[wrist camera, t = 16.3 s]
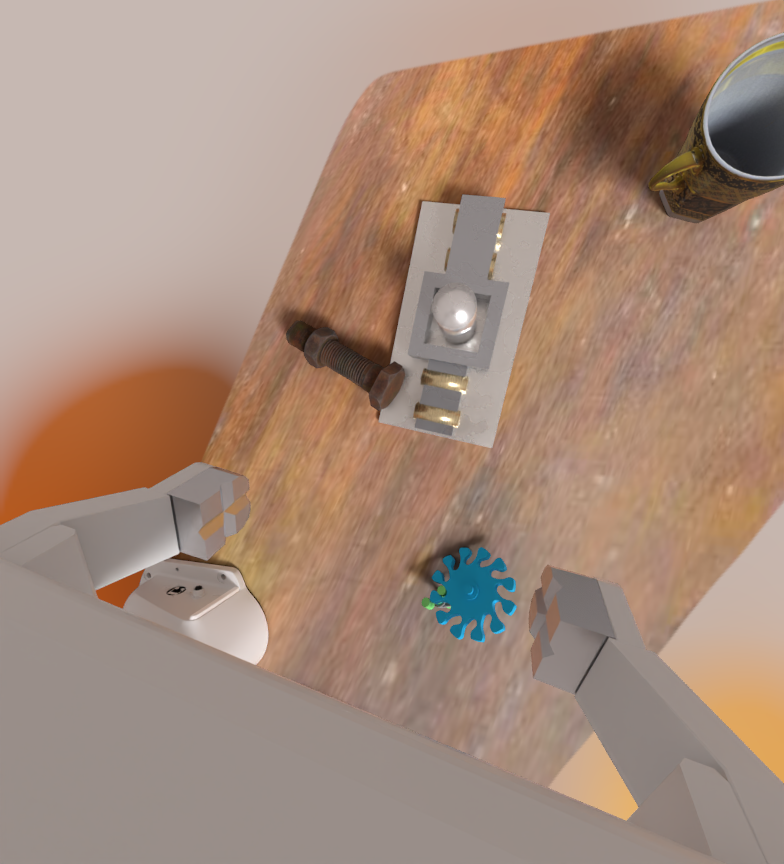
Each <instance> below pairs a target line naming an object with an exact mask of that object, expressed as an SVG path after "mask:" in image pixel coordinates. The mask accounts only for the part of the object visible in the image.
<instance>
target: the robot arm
mask: <svg viewBox="0 0 784 864" xmlns="http://www.w3.org/2000/svg"><path fill="white" fill-rule="evenodd" d="M248 490H249V480H248V478H246V477H245V476H244V475H240V474H237V473H234V472H231V471H228V470H225V469H222V468H219V467H214V466H212V465H208V464H205V463H202V462H200V463H194V464H192V465H190V466H189V467H187V468H185V469H184V470H181V471H180V472H178V473H176V474H174V475H173V476H171V477H169V478H167V479H166V480H164V481H162V482H160V483H158V484H157V485H155V486H154V487H151V488H150V489H147V488H139V489H134V490H130V491H125V492H120V493H115V494H110V495H106V496H101V497H96V498H91V499H86V500H82V501H77V502H72V503H67V504H62V505H57V506H52V507H48V508H43V509H38V510H33V511H30V512H27V513H25V514H23V515H21V516H19V517H17V518H15V519H13V520H11V521H8V522H6V523H4V524H2V525H0V864H784V783H783V782H782V781H781V780H780V779H779V778H778V777H777V776H776V775H775V774H774V773H773V772H772V771H771V770H770V769H769V768H768V767H767V766H766V765H765V764H764V763H763V762H762V761H761V760H760V759H759V758H758V757H757V756H756V755H755V754H754V753H753V752H752V751H751V750H750V749H749V748H748V747H747V746H746V745H745V744H744V743H743V742H742V741H741V740H740V739H739V738H738V737H737V736H736V735H735V734H734V733H733V731H732V730H731V729H730V728H729V727H728V726H727V725H726V724H725V723H724V722H723V721H722V720H720V718H719V717H718V716H717V715H716V714H715V713H714V712H713V711H712V710H711V709H710V708H709V707H708V706H707V705H706V704H705V703H704V702H703V701H702V700H701V699H700V698H699V697H698V696H697V695H696V694H695V693H694V692H693V691H692V690H691V689H690V688H689V687H688V686H687V685H686V684H685V683H684V682H683V681H682V680H681V679H680V678H679V677H678V676H677V675H676V674H675V673H674V671H673V670H671V668H670V667H669V666H668V665H667V664H666V663H665V662H663V660H662V659H661V658H660V657H659V656H658V655H657V654H656V653H655V652H652V651H649V650H647V649H646V647H645V644H644V642H643V639H642V637H641V634H640V632H639V629H638V627H637V624H636V622H635V620H634V617H633V615H632V612H631V610H630V607H629V605H628V602H627V600H626V597H625V595H624V592H623V590H622V588H621V587H620V586H619V585H618V584H617V583H613V582H609V581H606V580H602V579H598V578H595V577H594V578H592V577H589V576H585V575H582V574H578V573H575V572H571V571H568V570H564V569H561V568H557V567H554V566H550V565H547V566H546V567H545V569H544V571H543V573H542V575H541V582H542V587H541V588H539V589H537V590H535V592H534V595H533V598H532V601H531V606H530V611H529V632H530V633H531V635H532V636H533V637H534V639H535V641H534V643H533V645H532V648H531V659H532V671H533V678H534V679H536V680H539V681H541V682H544V683H546V684H549V685H552V686H554V687H557V688H559V689H562V690H564V691H567V692H569V693H572V694H575V696H574V697H575V698H576V700H577V702H578V704H579V705H580V707H581V709H582V711H583V712H584V714H585V716H586V717H587V719H588V721H589V723H590V724H591V726H592V728H593V729H594V731H595V733H596V734H597V736H598V738H599V740H600V741H601V743H602V745H603V747H604V748H605V750H606V752H607V753H608V755H609V757H610V758H611V760H612V762H613V764H614V765H615V767H616V769H617V771H618V772H619V774H620V776H621V777H622V779H623V781H624V783H625V784H626V786H627V788H628V789H629V791H630V793H631V795H632V796H633V798H634V800H635V802H636V803H637V805H638V807H639V808H638V809H637V810H636V811H635V812H634V813H633V814H632V815H631V817H630V818H629V819H628V820H627V821H625V820H623V819H620V818H618V817H616V816H613V815H611V814H609V813H606V812H604V811H602V810H599V809H597V808H594V807H592V806H590V805H587V804H585V803H583V802H580V801H577V800H576V799H573V798H571V797H568V796H566V795H564V794H561V793H559V792H557V791H554V790H552V789H549V788H547V787H545V786H542V785H540V784H537V783H535V782H533V781H530V780H528V779H526V778H523V777H521V776H518V775H516V774H514V773H511V772H509V771H507V770H504V769H502V768H499V767H497V766H495V765H492V764H490V763H488V762H485V761H483V760H480V759H478V758H476V757H473V756H471V755H469V754H466V753H464V752H461V751H459V750H457V749H454V748H452V747H450V746H447V745H445V744H442V743H440V742H438V741H435V740H433V739H430V738H428V737H426V736H423V735H421V734H419V733H416V732H414V731H411V730H409V729H407V728H404V727H402V726H399V725H397V724H395V723H392V722H390V721H388V720H385V719H383V718H380V717H378V716H376V715H373V714H371V713H369V712H366V711H364V710H361V709H359V708H357V707H354V706H352V705H349V704H347V703H345V702H342V701H340V700H338V699H335V698H333V697H330V696H328V695H326V694H323V693H321V692H319V691H316V690H314V689H311V688H309V687H307V686H304V685H302V684H299V683H297V682H295V681H292V680H290V679H288V678H285V677H283V676H280V675H278V674H276V673H273V672H271V671H269V670H266V669H264V668H261V667H259V666H257V665H256V664H257V663H258V662H259V661H260V660H261V658H262V657H263V655H264V653H265V651H266V648H267V644H268V626H267V622H266V618H265V615H264V613H263V611H262V609H261V607H260V605H259V604H258V602H257V601H256V599H255V598H254V597H253V596H252V594H251V593H250V592H249V591H248V589H247V588H246V586H245V583H244V580H243V578H242V575H241V573H240V572H239V570H238V569H236V568H234V567H228V566H221V565H214V564H206V563H199V562H192V561H184V560H177V559H170V557H172V556H175V555H177V554H179V552H182V553H185V554H188V555H191V556H194V557H197V558H201V559H204V560H208V559H209V558H210V557H212V556H213V555H214V554H215V553H216V552H217V551H218V550H219V549H220V548H221V547H222V546H224V545H225V541H226V537H228V536H231V535H234V534H236V533H238V532H239V531H240V530H241V529H242V528H243V527H244V525H245V523H246V521H247V520H248V518H249V514H250V501H249V499H248V498H247V496H246V495H245V494H246V493H247V491H248ZM145 568H146V569H145ZM143 569H145V570H144V573H143V575H142V578H141V581H140V585H139V587H138V588H137V589H135V590H134V591H133V592H132V593H131V595H130V596H129V597H128V599H127V601H126V602H125V604H124V607H123V609H121V608H119V607H116V606H114V605H112V604H109V603H107V602H104V601H102V600H100V599H98V597H97V594H96V591H95V590H97V589H100V588H102V587H104V586H106V585H109V584H111V583H113V582H116V581H118V580H120V579H122V578H124V577H127V576H129V575H131V574H134V573H136V572H138V571H141V570H143ZM224 575H225V576H226V577H225V576H224Z"/></svg>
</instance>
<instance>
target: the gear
mask: <svg viewBox="0 0 784 864" xmlns="http://www.w3.org/2000/svg"><path fill="white" fill-rule="evenodd" d="M459 553H460V557H461V561H460V565H459V568H458V569H457V570H454V569H453V567H454V564H455V559H454V558H453V557H452V556H451V555H449V556H446V557H445V558H443V563H444V564H445V565H446V566H447V568H448V570H449V574H450V579H449V580H448V581H447V582H445V580H444V575H443V573H441V572H440V571H438V570H437V571H436V572H435V573H434V574H433V576H432V579H433V580H434V581H435V582H436V583H440V584H442V585H443V586H439V587H438V589H437V591H435V590H433V591H432V592H431V595H430V599H429V598H424V599H423V600H422V605H423V606H424V607H425V608H427V609H429V610H431V609H433V608H434V605H435V606H437V607H439V608H451V610H450V611H449V612H448V613H446V612H444V611H441V610H440V611H437V612H436V617H437V620H438V623H440V624H442V625H444V624H446V623H447V622H448V621H449V620H450V619H451V618H452V617H455V616H461V617H462V622H461V623H460V624H458V625H453V626H452V627H451V629H450V631H451V633H452V634H453V635H454V636H455V637H456V638H458V639H462V638H463V637H464V632H465V629H466V626H467V625H468V624H469V623H470V622H471V621H472V620H474V619H475V620H476V621H477V626H476V627H475V628H474V629H473V630H472V632H471V639H473V640H475V641H478V642H484V641H485V634H484V631H483V623H484V619H485V616H486V615H488V614H490V615H491V616H492V621H491V624H490V628H491V630H492V632H493V633H495V634H498V633H501V632H503V631H504V630H505V626H504V624H503V623H502V622H501V621H500V620H499V619H498V617H497V615H496V612H495V603H496V602H501V603H502V608H503V610H504V612H505V613H507V614H508V615H510V616H511V615H512V614H513V613H514V611H515V610H516V605H515V604H514V603H513V602H512V601H510V600H506V599H503V598H502V597H501V596H500V595H499V594H498V592H497V587H498V586H499V585H503V586H504V587H505V588H506V589H507V590H508V591H510V592H515V588H516V582H515V580H514V579H513V578H511V577H508V578H505V579H495V578H493V577H491V573H492V571H494V570H497V571H500V572H504V571H506V570H507V568H506V565H505V563H504V561H503V560H502V559H501V558H497V559H496V560H495V561H494V562H493V563H492V564H491V565H489V566H487V567H480V563H481V562H482V561H484V560H488V559H489V558H490V556H491V555H490V553H489V552H488V551H487V550H486V549H484V548H482V547H481V548H479V550H478V554H477V557H476V559H475V560H474V561H473V562H472V563H471V564H470V565H466V561H467V560H468V559H469V558H470V557H471V555H472V551H471V550H470V549H469V548H460V550H459Z"/></svg>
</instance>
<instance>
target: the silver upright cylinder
mask: <svg viewBox="0 0 784 864" xmlns="http://www.w3.org/2000/svg"><path fill="white" fill-rule="evenodd" d="M476 310H477V300H476V296H475V294H474V292H473V291H472V289H471V288H470V287H468V286H467V285H465V284H462V283H450V284H447V285H445V286H443V287H442V288H441V289H440V290H438V292H437V293H436V295H435V296H434V299H433V302H432V312H433V315H434V317H435V319H436V322H437V324H438V326H439V328H440V330H441V332H442V335H443V336H444V338H445V339H446V340H448V341H449V342H451V343H456V344H458V343H463V342H465V341H467V340H469V339H470V338H471V337H472V335H473V334H474V332H475V328H476Z"/></svg>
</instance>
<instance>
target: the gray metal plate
mask: <svg viewBox="0 0 784 864" xmlns="http://www.w3.org/2000/svg"><path fill="white" fill-rule="evenodd" d="M505 199H506V198H497V197H486V196H475V195H463V194H462V199H461V203H460V205H458V204H448V203H437V202H426V201H422V206H421V211H420V216H419V221H418V226H417V231H416V236H415V241H414V247H413V252H412V257H411V262H410V267H409V272H408V277H407V282H406V287H405V292H404V297H403V302H402V307H401V312H400V317H399V322H398V327H397V332H396V337H395V342H394V347H393V352H392V357H391V362H390V364H391V363H393V362H394V361H395V362H397V363H398V364H400V365H402V366H403V368H404V371H405V378H404V381H403V384H402V386H401V389H400V391H399V393H398V394H397V396H396V397H395V398H394V400H393V401H392V402H391V403H390V405H389V406H388V407H386V408H384V409H382V410H381V412H380V417H379V422H380V423H385V424H389V425H393V426H398V427H402V428H406V429H411V430H415V431H419V432H424V433H428V434H432V435H437V436H441V437H445V438H450V439H454V440H458V441H463V442H467V443H472V444H476V445H480V446H485V447H489V448H492V447H493V442H494V438H495V434H496V430H497V426H498V422H499V418H500V414H501V410H502V406H503V402H504V398H505V394H506V390H507V386H508V382H509V378H510V374H511V369H512V365H513V361H514V357H515V353H516V349H517V345H518V341H519V337H520V333H521V329H522V325H523V321H524V317H525V313H526V309H527V305H528V301H529V296H530V292H531V288H532V284H533V280H534V276H535V272H536V268H537V264H538V260H539V256H540V252H541V248H542V244H543V240H544V236H545V232H546V228H547V223H548V219H549V215H550V213H544V212H533V211H523V210H512V209H504V205H505ZM450 283H462V284H465V285H467V286H468V287H470V288H471V289H472V291H473V292H474V294H475V296H476V300H477V310H476V328H475V332H474V334H473V335H472V337H471V338H470V339H469V340H467V341H465V342H463V343H458V344H456V343H451V342H449V341H448V340H446V339H445V338H444V336H443V335H442V332H441V330H440V328H439V326H438V324H437V322H436V319H435V317H434V315H433V312H432V302H433V299H434V296H435V295H436V293H437V292H438V290H440V289H441V288H442V287H443V286H445V285H447V284H450Z"/></svg>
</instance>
